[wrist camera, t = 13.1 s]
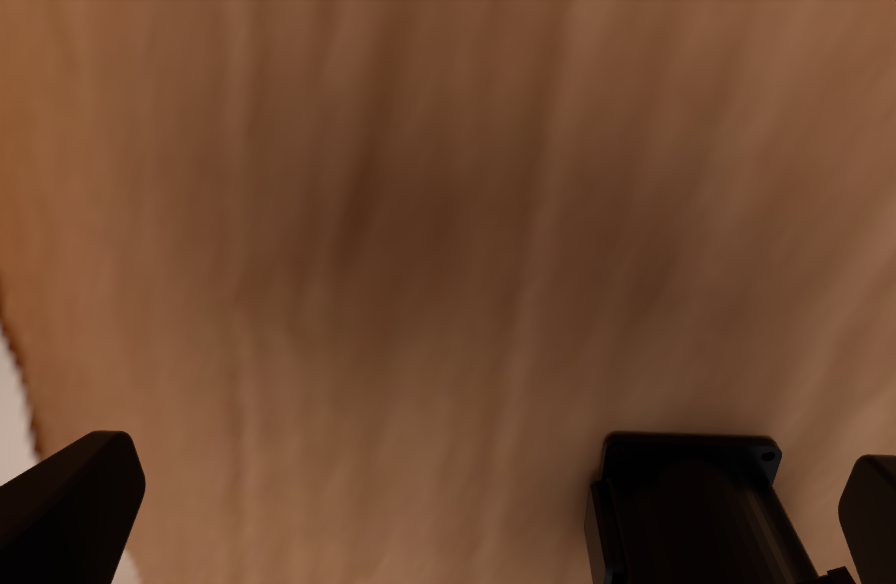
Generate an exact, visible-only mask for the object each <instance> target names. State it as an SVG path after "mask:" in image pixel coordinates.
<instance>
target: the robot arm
mask: <svg viewBox="0 0 896 584" xmlns="http://www.w3.org/2000/svg"><path fill="white" fill-rule="evenodd" d="M616 447H622V448H620V449H614V448H616ZM768 451H769V452H768ZM765 452H768V453H766V454H763V453H765ZM781 458H782V452H781V450H780V449H779V447H778V445H777V443H776V442H775V441H773V440H770V439H752V438H720V437H687V436H655V435H623V434H618V435H612V436H610V437H608V438H607V439H606V441H605V443H604V448H603V455H602V462H601V468H600V475H599V481H597V480H595V481H594V482H593V483H592V484H591V485H590V487H589V494H588V501H587V508H586V516H585V523H584V530H585V537H586V543H587V549H588V555H589V561H590V568H591V574H592V580H593V584H856V583H855V581H854V580H853V578H852V577H851V575H850V573H849V572H848V570H847V568H846V567H845V566H843V567H840V568H836V569H833V570H829V571H827V573H828V574H827V575H823V576H820V577H819V575H818V573H817V571H816V569H815V568H814V566H813V564H812V562H811V560H810V558H809V556H808V554H807V552H806V550H805V548H804V546H803V544H802V542H801V540H800V538H799V536H798V535H797V533H796V531H795V529H794V527H793V525H792V523H791V521H790V519H789V517H788V515H787V513H786V511H785V509H784V507H783V505H782V503H781V502H780V500H779V498H778V496H777V494H776V492H775V490H774V488H773V486H772V485H773V482H774V479H775V476H776V473H777V470H778V467H779V464H780V461H781ZM145 486H146V483H145V475H144V472H143V469H142V467H141V464H140V461H139V458H138V455H137V452H136V449H135V446H134V443H133V440H132V438H131V436H130V435H129V434H128V433H126V432H123V431H103V430H99V431H93V432H91V433H89V434H87V435H85V436H83V437H82V438H80V439H78V440H77V441H75V442H73V443H72V444H70V445H68V446H67V447H65V448H63V449H62V450H60V451H58V452H57V453H55V454H53V455H52V456H50V457H48V458H47V459H45V460H43V461H42V462H40V463H38V464H37V465H35V466H33V467H32V468H30V469H28V470H27V471H25V472H24V473H22V474H20V475H18V476H17V477H15V478H14V479H12V480H10V481H8V482H7V483H5V484H4V485H2V486H0V584H111V583H112V580H113V577H114V574H115V572H116V569H117V566H118V564H119V561H120V559H121V556H122V553H123V551H124V548H125V545H126V543H127V540H128V537H129V535H130V532H131V529H132V527H133V524H134V521H135V519H136V516H137V513H138V511H139V508H140V505H141V503H142V500H143V497H144V493H145ZM838 515H839V521H840V524H841V527H842V530H843V533H844V536H845V538H846V541H847V544H848V547H849V550H850V553H851V555H852V558H853V561H854V564H855V567H856V569H857V572H858V575H859V578H860V581H861V583H862V584H896V456H894V455H863V456H861V457H860V458H859V459H858V460H857V461H856V462H855V464H854V467H853V469H852V472H851V474H850V476H849V479H848V481H847V484H846V486H845V489H844V491H843V493H842V496H841V498H840V501H839V506H838Z"/></svg>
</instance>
